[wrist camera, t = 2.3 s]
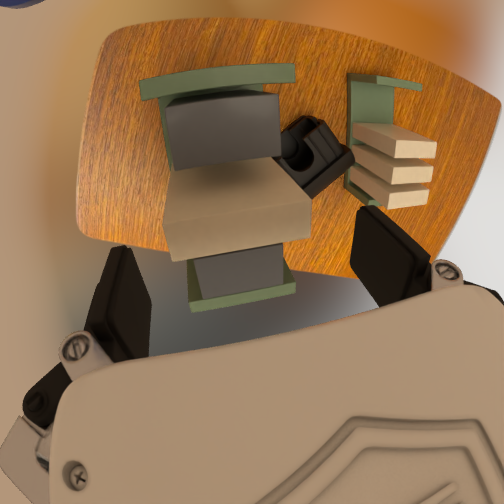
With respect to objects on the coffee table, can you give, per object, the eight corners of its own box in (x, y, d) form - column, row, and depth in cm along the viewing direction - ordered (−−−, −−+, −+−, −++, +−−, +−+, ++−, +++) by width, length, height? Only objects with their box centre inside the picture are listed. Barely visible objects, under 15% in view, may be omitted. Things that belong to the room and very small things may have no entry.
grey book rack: (169, 81, 25) (136, 80, 9) (233, 72, 26) (298, 62, 10) (187, 194, 34) (192, 318, 18) (243, 185, 34) (298, 298, 18)
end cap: (279, 200, 37) (297, 225, 31) (244, 163, 33) (256, 182, 27) (336, 152, 34) (364, 169, 29) (306, 111, 30) (332, 119, 25)
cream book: (172, 162, 18) (161, 224, 11) (263, 149, 19) (312, 199, 12) (176, 188, 20) (172, 262, 12) (264, 174, 20) (310, 238, 13)
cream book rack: (346, 73, 28) (397, 78, 20) (390, 78, 29) (443, 88, 21) (343, 187, 37) (383, 221, 29) (382, 183, 38) (425, 214, 30)
